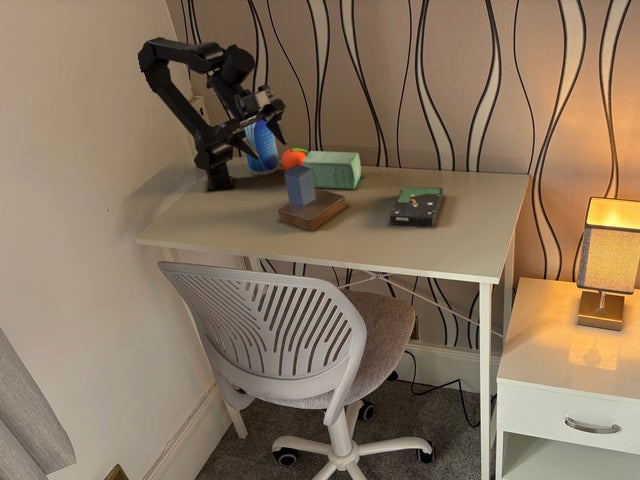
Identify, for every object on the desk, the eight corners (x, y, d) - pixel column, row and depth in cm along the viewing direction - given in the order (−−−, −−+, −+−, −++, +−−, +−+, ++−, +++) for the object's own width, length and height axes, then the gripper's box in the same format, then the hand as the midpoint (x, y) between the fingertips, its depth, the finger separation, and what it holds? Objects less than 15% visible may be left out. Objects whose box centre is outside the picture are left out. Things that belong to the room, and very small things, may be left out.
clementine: (312, 165, 173) (309, 141, 169) (313, 176, 168) (309, 151, 163) (283, 169, 173) (279, 144, 168) (283, 179, 167) (279, 155, 163)
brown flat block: (279, 220, 150) (277, 209, 148) (315, 197, 158) (313, 187, 156) (311, 231, 145) (309, 220, 143) (346, 207, 153) (345, 196, 151)
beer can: (270, 177, 169) (259, 120, 159) (244, 174, 171) (231, 118, 162) (285, 164, 175) (275, 108, 165) (259, 161, 177) (248, 106, 168)
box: (355, 189, 160) (352, 162, 156) (305, 188, 163) (301, 161, 158) (362, 177, 166) (359, 150, 161) (313, 176, 168) (309, 149, 164)
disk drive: (434, 228, 143) (443, 196, 154) (434, 217, 141) (443, 186, 153) (390, 225, 145) (402, 195, 156) (389, 215, 143) (401, 185, 155)
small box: (289, 202, 151) (283, 171, 146) (301, 194, 153) (296, 164, 149) (303, 206, 148) (298, 175, 144) (316, 198, 151) (311, 168, 146)
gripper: (215, 88, 133) (258, 151, 135) (276, 64, 144) (315, 122, 147) (196, 114, 141) (238, 172, 144) (256, 88, 153) (293, 143, 155)
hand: (272, 151), depth 147 cm, fingers open, 9 cm apart
